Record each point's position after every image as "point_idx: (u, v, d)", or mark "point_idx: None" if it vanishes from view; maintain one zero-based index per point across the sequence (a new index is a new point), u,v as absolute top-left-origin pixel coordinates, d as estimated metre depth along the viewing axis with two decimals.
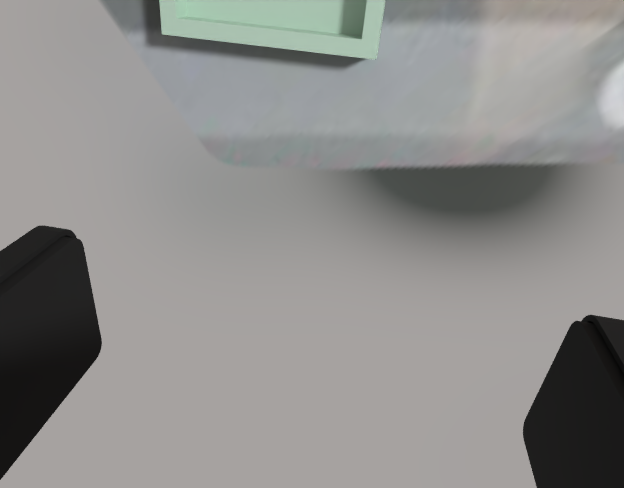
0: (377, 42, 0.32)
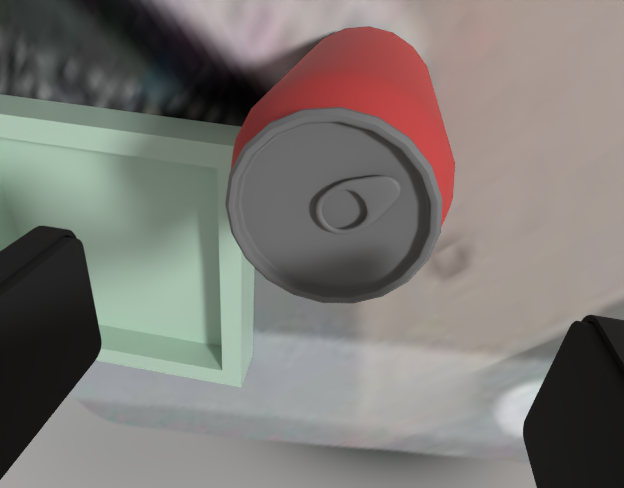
0: (239, 374, 0.29)
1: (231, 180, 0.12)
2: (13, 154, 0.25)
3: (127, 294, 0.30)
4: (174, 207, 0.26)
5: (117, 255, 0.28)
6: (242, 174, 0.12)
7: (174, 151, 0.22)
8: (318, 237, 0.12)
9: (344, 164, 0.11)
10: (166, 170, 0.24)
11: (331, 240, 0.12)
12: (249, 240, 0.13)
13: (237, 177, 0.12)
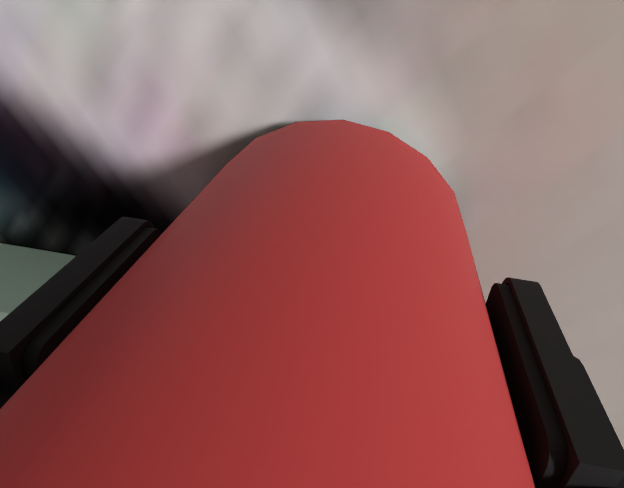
0: None
1: None
2: None
3: None
4: None
5: None
6: None
7: None
8: None
9: None
10: None
11: None
12: None
13: None
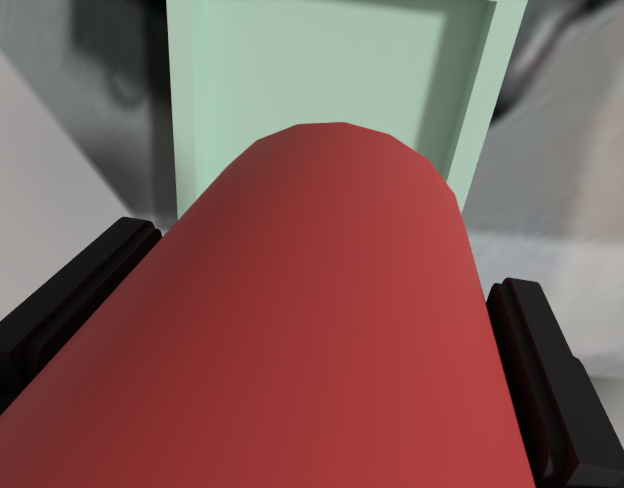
0: None
1: None
2: (230, 7, 0.23)
3: None
4: (403, 70, 0.23)
5: None
6: None
7: None
8: None
9: None
10: (406, 23, 0.22)
11: None
12: None
13: None
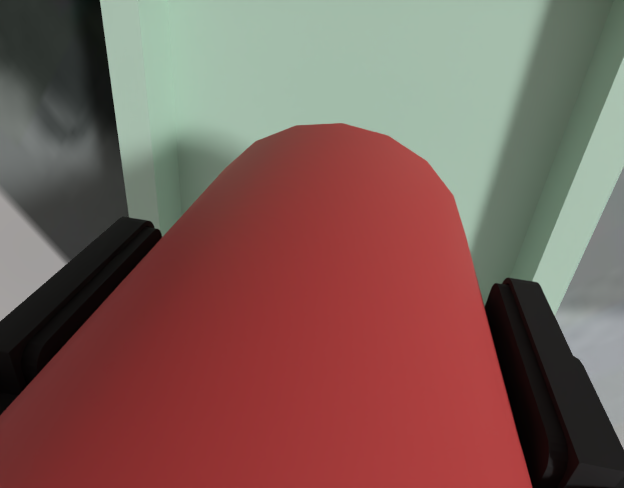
0: None
1: None
2: None
3: None
4: (475, 82, 0.15)
5: None
6: None
7: None
8: None
9: None
10: (484, 7, 0.14)
11: None
12: None
13: None
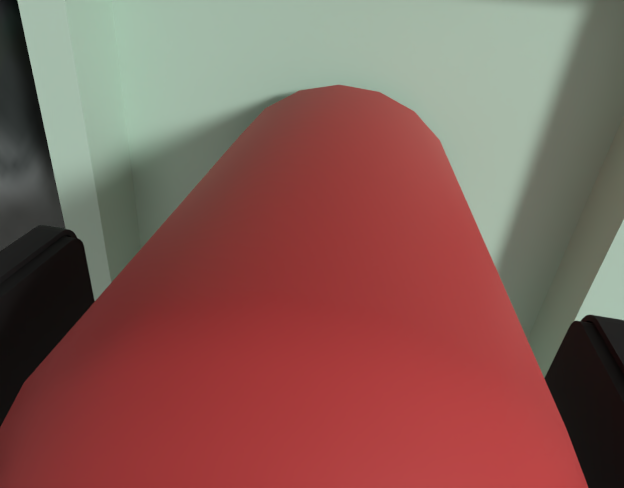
0: None
1: None
2: (156, 0, 0.12)
3: None
4: (490, 113, 0.12)
5: None
6: None
7: None
8: None
9: None
10: (503, 22, 0.11)
11: None
12: None
13: None
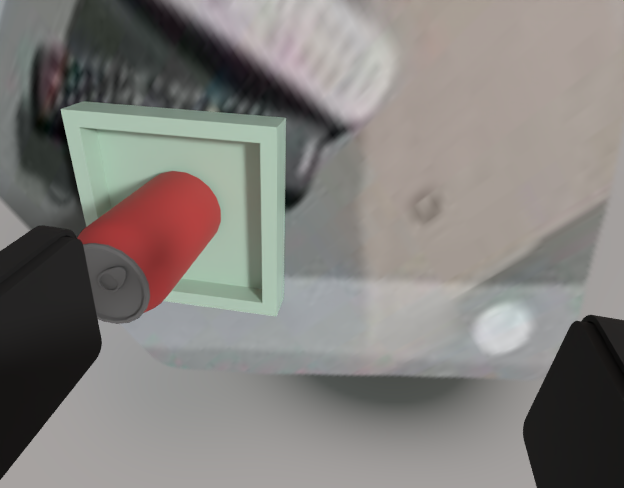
0: (275, 305, 0.38)
1: None
2: (114, 145, 0.36)
3: None
4: (227, 178, 0.36)
5: None
6: None
7: (231, 132, 0.32)
8: (105, 294, 0.28)
9: (103, 263, 0.27)
10: (222, 150, 0.35)
11: (111, 294, 0.28)
12: None
13: None
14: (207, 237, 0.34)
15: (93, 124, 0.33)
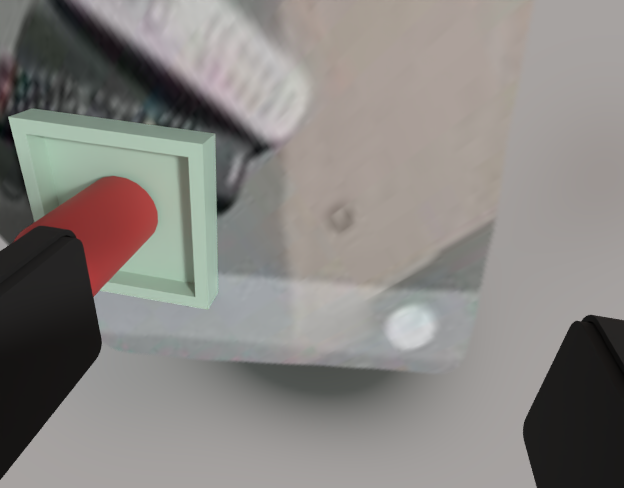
0: (207, 299, 0.43)
1: None
2: (60, 149, 0.40)
3: None
4: (163, 184, 0.40)
5: None
6: None
7: (162, 146, 0.36)
8: None
9: None
10: (158, 159, 0.39)
11: None
12: None
13: None
14: (142, 238, 0.38)
15: (38, 132, 0.37)
